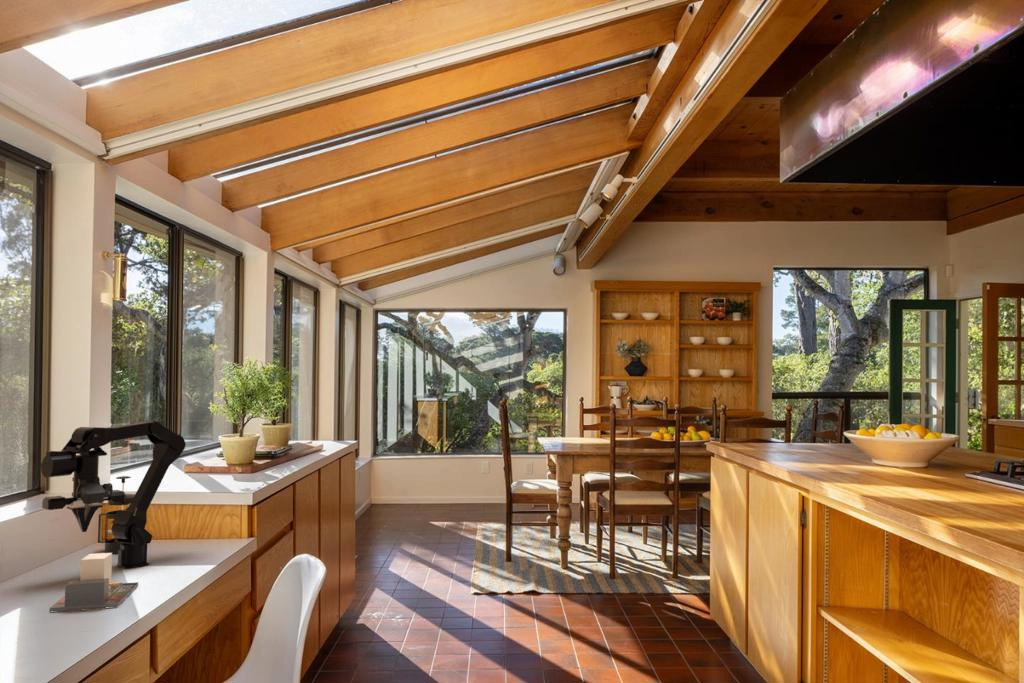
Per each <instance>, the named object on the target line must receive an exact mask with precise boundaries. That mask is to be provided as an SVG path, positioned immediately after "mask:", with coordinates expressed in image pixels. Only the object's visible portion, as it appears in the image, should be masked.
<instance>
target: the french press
mask: <svg viewBox="0 0 1024 683" xmlns="http://www.w3.org/2000/svg"><path fill="white" fill-rule="evenodd" d="M131 478H132V477H131V476H129V475H128V476H127V475H125V476H124V475H123V476H117V477H115V479H116V480H121V484H122V486H121V487H122V488H121V491H123V492H124V493H125V491H124V490H125V483H126V479H131ZM135 494H136V493H125V495H126V500H125V501H124V502H116V503H113V502H112V501H111V500H107V506H108V505H109V506H121V510H124V506H127V505H128V506H129V505H130V504H131V502H132V500H133V498H134V496H135ZM117 512H118V509H117V510H111V511H107V512H102V513H99V515H98V523H97V524H98V527H97V528H98V530H97V531H98V532H97V543H98V544H103V543H104V550H103V553H104V552H105V553H112V555H118V550H120V544H122V543H117V540H116V537H114V538H109V539H108V535H110V536H114V535H113V533H112V531H111V529H108V528H109V527H108V526H109V520H114V519H115V517H116V514H117ZM102 516H105V528H104V540H102V539H101V538H102V537H101V536H102V534H101V533H102Z"/></svg>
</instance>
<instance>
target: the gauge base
mask: <svg viewBox="0 0 1024 683" xmlns="http://www.w3.org/2000/svg"><path fill="white" fill-rule="evenodd" d="M118 583H119V586H111V590H110V591H109V592H108V589H109V578H105V579H89V580H80V579H75V580H73V579H72V580H70V581H68V582H67V583H66V584H64V586H65V589H64V596H63V597H62V598H60V599H59V600H58V601H57V602H55V603H54V604H53V605H52V606H51V607H49V612H51V611H65V612H69V611H68V610H79V611H83V610H82V609H92V610H97V609H96V608H106V607H118V606H119V605H120V604H121V603H122V602H123V601H124V600H125V599H126V598H127V597H129V596H131V594H132V593H134V591H135V590H136V589H137V588H138V587H139V582H124V583H123V582H118ZM137 586H138V587H137ZM136 587H137V588H136ZM127 599H128V598H127ZM127 599H126V600H127ZM126 600H125V601H126ZM125 601H124V602H125ZM124 602H123V603H124ZM123 603H122V604H123ZM122 604H121V605H122ZM121 605H120V606H121ZM120 606H119V607H120ZM119 607H118V608H119ZM106 609H107V608H106ZM51 613H52V612H51Z"/></svg>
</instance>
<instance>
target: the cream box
mask: <svg viewBox="0 0 1024 683" xmlns="http://www.w3.org/2000/svg"><path fill="white" fill-rule="evenodd" d="M112 565H113V554H112V553H104V552H101V553H89V554H87V555H86V556H84V557H83V558H82V559H81V560H80V576H79V577H80V579H79V580H89V579H105V578H109V589H108V592H109V591H110V590H111V586H119V583H120V582H112V568H113V567H112Z"/></svg>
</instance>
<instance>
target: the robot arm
mask: <svg viewBox="0 0 1024 683" xmlns="http://www.w3.org/2000/svg"><path fill="white" fill-rule="evenodd" d="M143 436H146V438H147V440H148V441H149V442H150V443H151V444H153V445H154V446H153V449H152V461H151V463H150V465H149V467H148V469H147V471H146V473H145V474H144V476H143V478H142V481H141V483H140V485H139V486H138V488H137V491H136V492H135V493H134V494H135V496H134V498H133V500H132V502H131V503H130V504H129V505H128V506H127V507H126V509H123V510H122V509H119V510H118V509H117V510H118V512H117V514H116V517H115V519H112V521H111V522H110V524H112V526H111V529H110V530H111V531H112V533H113V535H112V536H113V537H114V538H115V537H116V540H117V543H122V544H120V550H118V554H117V564H116V566H118V567H121V568H123V569H131V568H137V567H141V566H147V565H150V562H149V561H148V545H149V544H151V542H152V540H153V535H152V534H151V533H150V532H149V531H148V530H147V529H146V525H147V522H148V514H147V513H148V509H149V507H150V505H151V503H152V502H153V499H154V497H155V495H156V493H157V492H158V489H159V487H160V485H161V483H162V481H163V479H164V477H165V475H166V473H167V471H168V469H169V467H170V465H172V464H173V463H174V462H176V461H177V460H178V459H179V458H180V456H181V455H182V453H183V452H184V450H185V449H186V445H187V443H186V441H185V438H184V437H183V436H182V435H180V434H176V433H175V432H174V431H172V430H171V429H168V428H167V427H166V426H164V425H162V423H160V422H159V421H157V420H145V421H141V422H134V423H127V424H122V425H114V426H109V427H108V426H107V427H99V426H98V427H95V426H92V427H91V426H80V427H77V428H75V429H74V431H72V434H71V437H70V439H68V441H67V443H66V444H65V445H64V447H63V448H62V449H61V450H58V451H57V450H47V451H46V452H45V453H46V454H45V456H44V457H43V458H42V462H41V464H40V472H41V474H42V477H44V478H57V477H65V476H71V475H72V474H73V477H71V478H72V482H73V484H72V490H73V491H72V492H71V497H65V496H62V495H54V496H53V495H52V496H45V497H44V498H43V499H42V502H41V506H42V507H41V508H42V509H44V510H47V511H52V510H54V511H55V510H62V509H64V508H65V507H66V509H68V510H70V511H71V512H72V513H73V515H74V517H75V519H76V521H77V523H78V526H79V528H80V531H81V532H82V533H86V532H87V531H88V529H89V526H90V524H91V521H92V518H93V517H94V515H95V513H96V511H98V510H99V509H100V508H103V506H104V505H103V503H104V502H106V501H108V500H111V501H112V502H113V503H116V502H124V501H125V500H126V495H125V494H126V492H125V491H124V492H123V491H122V490H120V489H113V486H114V485H113V484H112V483H110V482H108V483H103V484H101V482H100V481H101V479H100V477H99V464H100V463H99V462H100V460H99V459H100V458H99V457H103V456H107V455H108V452H107V451H105V450H103V448H102V447H103V446H105V445H108V444H110V443H112V442H114V441H119V440H125V439H131V438H137V437H143Z"/></svg>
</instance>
